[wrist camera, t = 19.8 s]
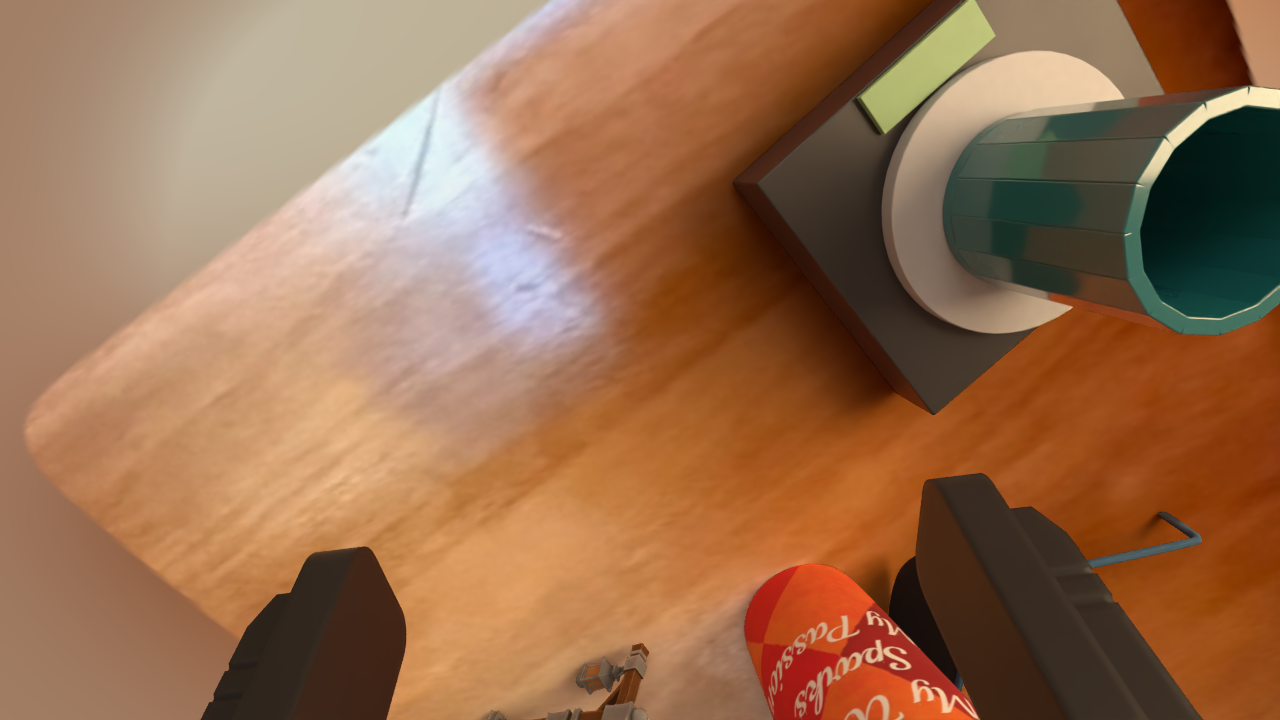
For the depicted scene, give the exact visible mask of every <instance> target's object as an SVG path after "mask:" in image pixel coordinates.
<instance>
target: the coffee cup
mask: <svg viewBox="0 0 1280 720" xmlns="http://www.w3.org/2000/svg"><path fill="white" fill-rule="evenodd" d="M744 632H745V638H746V643H747V646H748V649H749V653H750V656H751V659H752V662H753V664H754V667H755V670H756V673H757V676H758V679H759V681H760V684H761V687H762V689H763V692H764V695H765V698H766V700H767V703H768V706H769V708H770V711H771V714H772V717H773V719H774V720H980V719H979V717H978V714H977V712H976V710H975V708H974V706H973V704H972V703H971V702H970V701H969V700H968V699H967V698H966V697H965V696H964V694H963V693H962V692H961V691H960V690H959V689H958V688H957V687H956V686H955V685H954V684H953V683H952V682H951V681H950V680H949V679H948V678H947V677H946V676H945V675H944V674H943V673H942V672H941V671H940V670H939V669H938V668H937V667H936V666H935V664H934V663H933V662H932V661H931V660H930V659H929V658H928V657H927V656H926V655H925V654H924V653H923V652H922V651H921V650H920V649H919V648H918V647H917V645H916V644H915V643H914V642H913V641H912V640H911V639H910V638H909V637H908V636H907V635H906V634H905V633H904V632H903V631H902V630H901V629H900V628H899V626H898V625H897V624H896V623H895V622H894V621H893V620H892V619H891V618H890V617H889V616H888V615H887V614H886V613H885V612H884V611H883V610H882V609H881V608H880V607H879V606H878V605H877V604H876V602H875V601H874V600H873V599H872V598H871V597H870V596H869V595H868V594H867V593H866V592H865V591H864V590H863V589H862V588H861V587H860V586H859V585H857V584H856V583H855V582H854V581H853V580H852V579H851V578H850V577H849V576H847V575H846V574H845V573H843V572H842V571H840V570H838V569H836V568H833V567H831V566H827V565H821V564H805V565H800V566H796V567H792V568H790V569H787V570H785V571H783V572H781V573H779V574H777V575H776V576H774V577H773V578H771V579H770V580H769V581H767V582H766V583H765V584H764V585H763V586H762V587H761V588H760V589H759V591H758V592H757V593H756V595H755V596H754V597H753V599H752V601H751V603H750V605H749V607H748V610H747V613H746V617H745V623H744Z"/></svg>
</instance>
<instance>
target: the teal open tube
mask: <svg viewBox="0 0 1280 720" xmlns="http://www.w3.org/2000/svg"><path fill="white" fill-rule="evenodd" d="M943 225H944V231H945V235H946V239H947V242H948V245H949V247H950V249H951V251H952V253H953V255H954V256H955V258H956V260H957V261H958V262H959V263H960V265H961V266H962V267H963V268H964V269H965V270H966V271H967V272H968V273H969V274H971V275H972V276H974V277H975V278H977V279H979V280H981V281H983V282H985V283H989V284H992V285H995V286H997V287H999V288H1002V289H1006V290H1009V291H1013V292H1017V293H1021V294H1025V295H1029V296H1033V297H1037V298H1041V299H1045V300H1049V301H1052V302H1056V303H1060V304H1064V305H1068V306H1072V307H1076V308H1080V309H1084V310H1088V311H1091V312H1095V313H1099V314H1103V315H1107V316H1111V317H1115V318H1119V319H1123V320H1127V321H1130V322H1134V323H1138V324H1142V325H1146V326H1150V327H1154V328H1158V329H1162V330H1166V331H1169V332H1173V333H1177V334H1183V335H1209V336H1218V335H1223V334H1225V333H1228V332H1231V331H1233V330H1236V329H1238V328H1241V327H1243V326H1246V325H1249V324H1251V323H1254V322H1256V321H1259V319H1262V318H1263V317H1264V316H1265V315H1266V314H1268V313H1269V312H1270V311H1271V310H1272V309H1274V308H1275V307H1276V306H1277V305H1278V304H1280V89H1276V88H1267V87H1259V86H1250V85H1248V86H1239V87H1230V88H1221V89H1211V90H1202V91H1193V92H1184V93H1175V94H1165V95H1156V96H1147V97H1138V98H1128V99H1119V100H1110V101H1101V102H1092V103H1082V104H1073V105H1064V106H1055V107H1046V108H1037V109H1033V110H1030V111H1024V112H1018V113H1015V114H1011V115H1008V116H1006V117H1004V118H1001V119H999V120H997V121H996V122H994V123H992V124H991V125H989V126H988V127H986V128H985V129H984V130H983V131H981V132H980V133H979V134H978V135H977V136H976V137H975V138H974V139H973V140H972V141H971V142H970V143H969V144H968V145H967V147H966V148H965V149H964V150H963V152H962V153H961V155H960V157H959V158H958V160H957V161H956V163H955V165H954V167H953V169H952V171H951V174H950V177H949V179H948V182H947V185H946V190H945V194H944V201H943Z"/></svg>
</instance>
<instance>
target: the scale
mask: <svg viewBox="0 0 1280 720" xmlns="http://www.w3.org/2000/svg"><path fill="white" fill-rule="evenodd" d="M1156 95H1165V92H1164V90H1163V89H1162V87H1161V85H1160V83H1159V81H1158V79H1157V77H1156V75H1155V73H1154V71H1153V69H1152V67H1151V65H1150V63H1149V61H1148V59H1147V57H1146V55H1145V53H1144V51H1143V49H1142V48H1141V46H1140V44H1139V42H1138V40H1137V38H1136V36H1135V34H1134V32H1133V30H1132V28H1131V26H1130V24H1129V22H1128V20H1127V18H1126V16H1125V14H1124V12H1123V10H1122V8H1121V7H1120V5H1119V3H1118V1H1117V0H934V1H933V2H932V3H931V4H929V5H928V6H927V7H926V8H925V9H924V10H923V11H922V12H921V13H919V14H918V15H917V16H916V17H915V18H914V19H913V20H912V21H911V22H909V23H908V24H907V25H906V26H905V27H904V28H903V29H902V30H901V31H899V32H898V33H897V34H896V35H895V36H894V37H893V38H892V39H891V40H889V41H888V42H887V43H886V44H885V45H884V46H883V47H882V48H881V49H879V50H878V51H877V52H876V53H875V54H874V55H873V56H872V57H870V58H869V59H868V60H867V61H866V62H865V63H864V64H863V65H862V66H860V67H859V68H858V69H857V70H856V71H855V72H854V73H853V74H852V75H850V76H849V77H848V78H847V79H846V80H845V81H844V82H843V83H842V84H840V85H839V86H838V87H837V88H836V89H835V90H834V91H833V92H832V93H830V94H829V95H828V96H827V97H826V98H825V99H824V100H823V101H822V102H820V103H819V104H818V105H817V106H816V107H815V108H814V109H813V110H812V111H810V112H809V113H808V114H807V115H806V116H805V117H804V118H803V119H802V120H800V121H799V122H798V123H797V124H796V125H795V126H794V127H793V128H792V129H790V130H789V131H788V132H787V133H786V134H785V135H784V136H783V137H781V138H780V139H779V140H778V141H777V142H776V143H775V144H774V145H773V146H771V147H770V148H769V149H768V150H767V151H766V152H765V153H764V154H763V155H761V156H760V157H759V158H758V159H757V160H756V161H755V162H754V163H753V164H751V165H750V166H749V167H748V168H747V169H746V170H745V171H744V172H743V173H741V174H740V175H739V176H738V177H737V178H736V179H735V180H734V181H733V184H734V185H735V187H736V188H737V189H738V190H739V192H740V193H741V194H742V196H743V197H744V198H745V199H746V201H747V202H748V203H749V205H750V206H751V207H752V208H753V210H754V211H755V212H756V214H757V215H758V216H759V217H760V219H761V220H762V221H763V223H764V224H765V225H766V226H767V228H768V229H769V230H770V232H771V233H772V234H773V235H774V237H775V238H776V239H777V241H778V242H779V243H780V244H781V246H782V247H783V248H784V250H785V251H786V252H787V253H788V255H789V256H790V257H791V259H792V260H793V261H794V262H795V264H796V265H797V266H798V268H799V269H800V270H801V271H802V273H803V274H804V275H805V277H806V278H807V279H808V280H809V282H810V283H811V284H812V285H813V287H814V288H815V289H816V291H817V292H818V293H819V294H820V296H821V297H822V298H823V300H824V301H825V302H826V303H827V305H828V306H829V307H830V309H831V310H832V311H833V312H834V314H835V315H836V316H837V318H838V319H839V320H840V321H841V323H842V324H843V325H844V327H845V328H846V329H847V330H848V332H849V333H850V334H851V336H852V337H853V338H854V339H855V341H856V342H857V343H858V345H859V346H860V347H861V348H862V350H863V351H864V352H865V354H866V355H867V356H868V357H869V359H870V360H871V361H872V363H873V364H874V365H875V366H876V368H877V369H878V370H879V372H880V373H881V374H882V375H883V377H884V378H885V379H886V381H887V382H888V383H889V384H890V386H891V387H892V388H893V390H894V391H895V392H896V393H897V394H899V395H901V396H902V397H904V398H906V399H907V400H909V401H910V402H912V403H914V404H915V405H917V406H919V407H920V408H922V409H924V410H925V411H927V412H929V413H930V414H932V415H935V414H936V413H938V412H939V411H940V410H941V409H942V408H943V407H945V406H946V405H947V404H948V403H949V402H950V401H952V400H953V399H954V398H955V397H956V396H957V395H959V394H960V393H961V392H962V391H963V390H964V389H966V388H967V387H968V386H969V385H970V384H971V383H973V382H974V381H975V380H976V379H977V378H978V377H980V376H981V375H982V374H983V373H984V372H985V371H987V370H988V369H989V368H990V367H991V366H992V365H994V364H995V363H996V362H997V361H998V360H999V359H1001V358H1002V357H1003V356H1004V355H1005V354H1006V353H1008V352H1009V351H1010V350H1011V349H1012V348H1013V347H1015V346H1016V345H1017V344H1018V343H1019V342H1020V341H1022V340H1023V339H1024V338H1025V337H1026V336H1027V335H1029V334H1030V333H1031V332H1032V331H1033V330H1034V329H1036V328H1037V327H1038V326H1040V325H1042V324H1044V323H1047V322H1049V321H1051V320H1053V319H1055V318H1057V317H1059V316H1060V315H1062V314H1064V313H1065V312H1067V311H1069V310H1070V309H1071V308H1073V307H1072V306H1068V305H1064V304H1060V303H1056V302H1052V301H1049V300H1045V299H1041V298H1037V297H1033V296H1029V295H1025V294H1021V293H1017V292H1013V291H1009V290H1006V289H1002V288H999V287H997V286H995V285H992V284H989V283H985V282H983V281H981V280H979V279H977V278H975V277H974V276H972V275H971V274H969V273H968V272H967V271H966V270H965V269H964V268H963V267H962V266H961V265H960V263H959V262H958V261H957V260H956V258H955V256H954V255H953V253H952V251H951V249H950V247H949V245H948V242H947V239H946V235H945V231H944V225H943V201H944V194H945V190H946V185H947V182H948V179H949V177H950V174H951V171H952V169H953V167H954V165H955V163H956V161H957V160H958V158H959V157H960V155H961V153H962V152H963V150H964V149H965V148H966V147H967V145H968V144H969V143H970V142H971V141H972V140H973V139H974V138H975V137H976V136H977V135H978V134H979V133H980V132H981V131H983V130H984V129H985V128H986V127H988V126H989V125H991V124H992V123H994V122H996V121H997V120H999V119H1001V118H1004V117H1006V116H1008V115H1011V114H1015V113H1018V112H1024V111H1030V110H1033V109H1037V108H1046V107H1055V106H1064V105H1073V104H1082V103H1092V102H1101V101H1110V100H1119V99H1128V98H1138V97H1147V96H1156Z"/></svg>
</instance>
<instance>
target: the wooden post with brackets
mask: <svg viewBox="0 0 1280 720" xmlns="http://www.w3.org/2000/svg"><path fill="white" fill-rule="evenodd" d="M648 654H649V651H648V650H647V649H646V647H645V646H644V644H643V643H640V644H636V645H633V646H632V651H631V652H630V657H627V660H626V663H625V666H623V667H618V665H617V664H616V663H615V664H614V667H613V666H611V665H610V664H609V662H608V661H607V660H606V658H605V657H603V659H602V662H601V663H600V664H593V665H587V664H585V665H584V668H583V671H582V673H580V674H578V676H577V677H576V683H577V685H578V686H579V687H581V688H584V687H585V689H586V690H587V691H588V693H589V694H590V695H591V694H592V692H594V691H596V690H599V689H602V688H606V689H607V691H608V692H611V689H612V685H613V682H614V681H615V679H617V681H618V682H619V680H620V676H621V675H623V674H625V675H624V678H623V680H622V682H621V684H620V685H619V686H618V687H617V688H616V689H615V691H614V692H613V693H612V694H611V695H610V696H609V697H608V698H607V699H606V701H605V702H604V703H603V704H602V705H601V706H600V707H599V708H598V709H597V710H596V711H588V712H583V711H582V709H581V708H574V711H573V713H572V712H571V711H570V709H568V710H566V711H564V712H558V713H548V715H547V717H546V718H542V719H536V720H648V714H647V712H646V711H645V710H644V709H643V708H636V706H635V705H634V704H635V700H636V696H637V693H638V689H639V685H640V682H641V679H644V676H645V672H646V669H647V665H646V661H647V660H648V659H647V657H648ZM621 672H622V673H621ZM615 704H616V705H615ZM488 720H506V719H505V718H504V717H503V715H502V714H501V713H500V712H499V711H497V712H493V711H491V713H490V716H489V718H488Z"/></svg>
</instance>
